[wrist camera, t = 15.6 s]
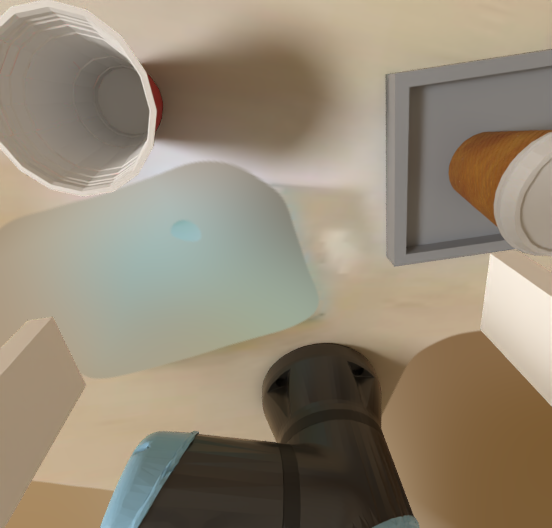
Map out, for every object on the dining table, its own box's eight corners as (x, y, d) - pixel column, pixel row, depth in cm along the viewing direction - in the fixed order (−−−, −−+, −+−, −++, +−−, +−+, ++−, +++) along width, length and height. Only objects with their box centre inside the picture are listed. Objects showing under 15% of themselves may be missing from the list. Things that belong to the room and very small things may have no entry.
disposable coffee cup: (425, 214, 38) (493, 265, 27) (440, 114, 33) (528, 127, 23) (515, 210, 38) (619, 259, 27) (541, 110, 34) (676, 121, 23)
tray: (550, 232, 40) (567, 241, 38) (386, 256, 40) (394, 266, 38) (588, 43, 32) (613, 40, 30) (385, 74, 33) (395, 73, 30)
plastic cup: (77, 2, 29) (-28, -47, 18) (206, 66, 32) (180, 56, 21) (52, 133, 33) (-45, 156, 23) (168, 181, 36) (130, 222, 25)
